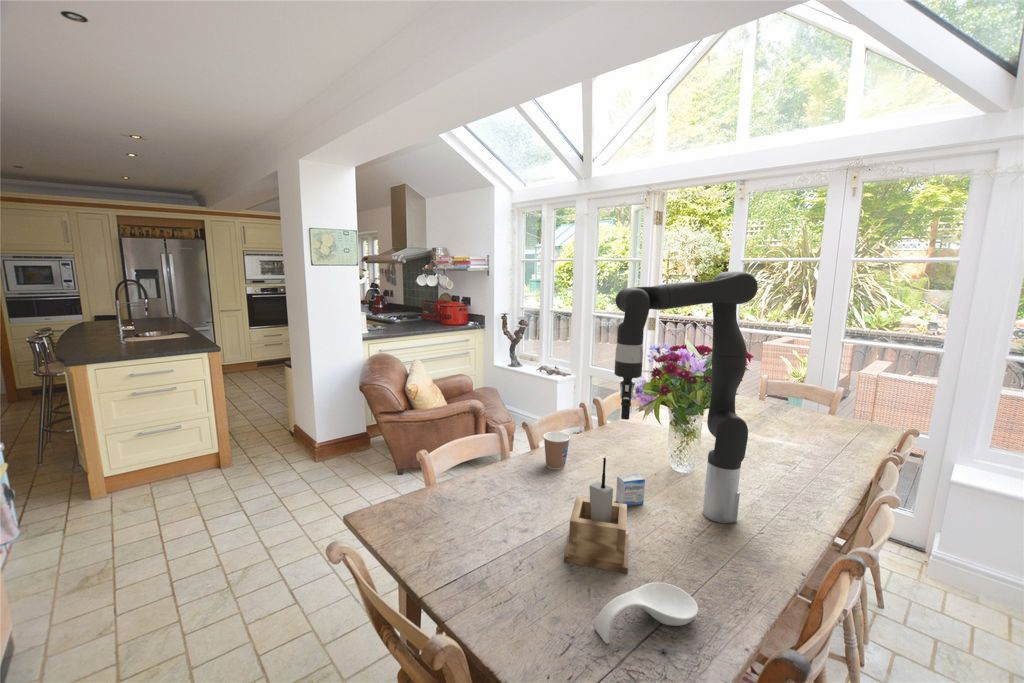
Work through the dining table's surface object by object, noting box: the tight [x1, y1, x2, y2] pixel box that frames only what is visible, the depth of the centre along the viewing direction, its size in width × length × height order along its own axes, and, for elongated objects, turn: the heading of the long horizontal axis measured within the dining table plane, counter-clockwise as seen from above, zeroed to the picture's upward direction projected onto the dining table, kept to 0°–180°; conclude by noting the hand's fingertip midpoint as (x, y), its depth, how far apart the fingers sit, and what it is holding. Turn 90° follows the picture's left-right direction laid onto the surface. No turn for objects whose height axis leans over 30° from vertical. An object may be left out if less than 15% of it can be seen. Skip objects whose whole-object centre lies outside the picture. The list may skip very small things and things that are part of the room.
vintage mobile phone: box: [589, 457, 614, 523], centre depth 120 cm, size 4×5×25 cm
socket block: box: [563, 496, 630, 574], centre depth 121 cm, size 16×15×11 cm
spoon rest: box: [594, 581, 699, 645], centre depth 96 cm, size 24×12×7 cm, turn 113°
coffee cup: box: [542, 431, 571, 470], centre depth 172 cm, size 10×10×12 cm
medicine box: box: [615, 473, 646, 507], centre depth 146 cm, size 8×4×9 cm, turn 105°
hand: (625, 414), depth 129 cm, fingers open, 8 cm apart
